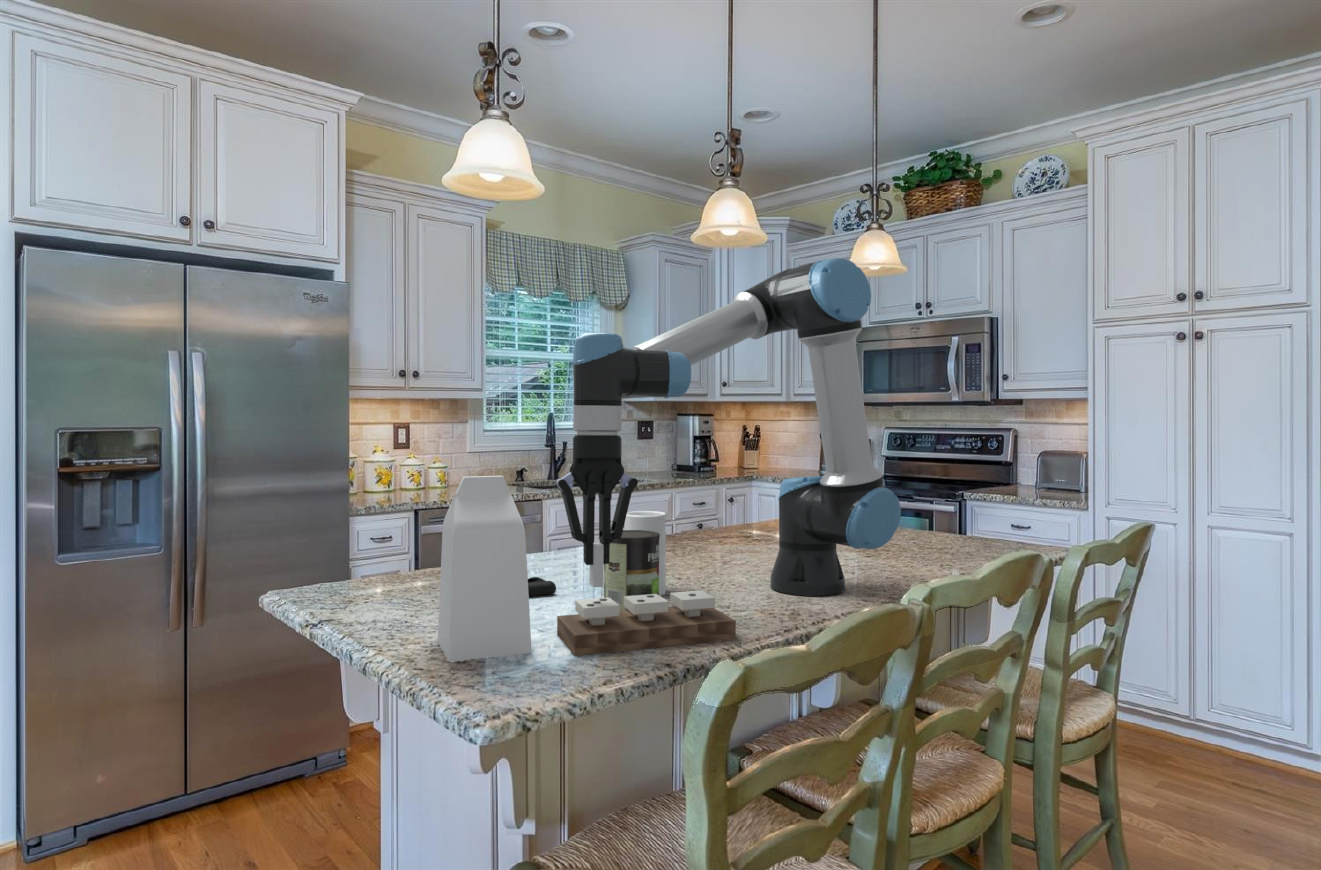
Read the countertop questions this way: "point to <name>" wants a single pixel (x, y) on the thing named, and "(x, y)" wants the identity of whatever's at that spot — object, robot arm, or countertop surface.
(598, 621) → the button
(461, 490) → the milk
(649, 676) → the countertop surface
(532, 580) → the door handle
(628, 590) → the coffee can
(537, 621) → the countertop surface
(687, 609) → the button
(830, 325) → the robot arm
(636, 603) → the button
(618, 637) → the button panel
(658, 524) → the cup
